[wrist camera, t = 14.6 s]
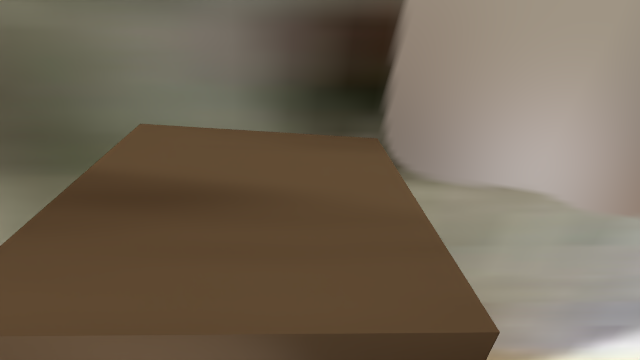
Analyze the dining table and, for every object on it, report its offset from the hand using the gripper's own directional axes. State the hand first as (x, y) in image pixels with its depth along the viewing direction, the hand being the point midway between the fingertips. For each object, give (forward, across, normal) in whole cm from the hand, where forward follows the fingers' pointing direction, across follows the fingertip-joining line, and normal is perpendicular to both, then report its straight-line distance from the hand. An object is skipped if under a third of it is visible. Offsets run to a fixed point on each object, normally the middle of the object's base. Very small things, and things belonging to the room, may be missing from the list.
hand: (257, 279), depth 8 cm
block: (+1, 0, 0) cm, 1 cm away
